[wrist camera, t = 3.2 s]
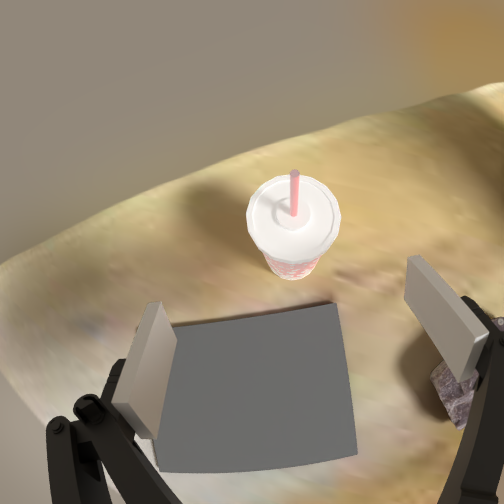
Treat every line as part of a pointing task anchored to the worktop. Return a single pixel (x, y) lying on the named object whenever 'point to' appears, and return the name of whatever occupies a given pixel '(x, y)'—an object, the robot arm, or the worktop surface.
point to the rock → (457, 388)
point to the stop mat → (257, 395)
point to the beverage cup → (293, 223)
